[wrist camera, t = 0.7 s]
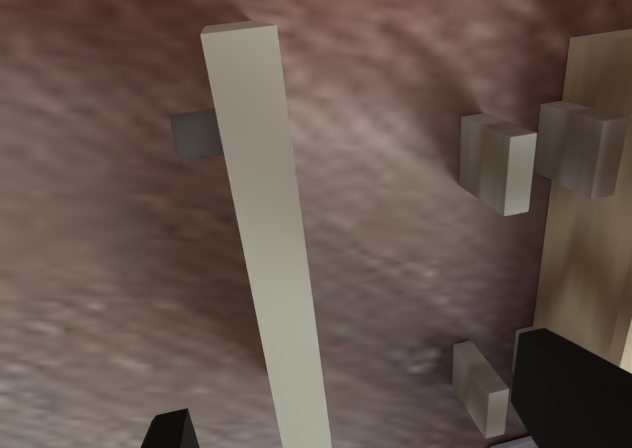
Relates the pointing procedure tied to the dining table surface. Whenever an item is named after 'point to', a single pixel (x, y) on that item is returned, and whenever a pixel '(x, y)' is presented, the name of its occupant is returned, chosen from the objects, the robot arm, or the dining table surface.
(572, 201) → the cabinet
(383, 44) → the dining table surface
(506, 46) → the dining table surface
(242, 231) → the door
